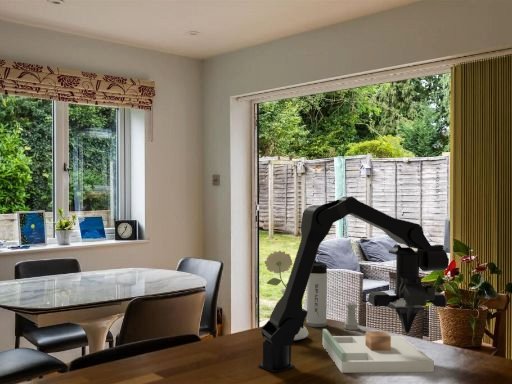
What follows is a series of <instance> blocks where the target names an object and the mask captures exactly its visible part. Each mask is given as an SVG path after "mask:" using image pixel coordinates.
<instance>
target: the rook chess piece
mask: <svg viewBox="0 0 512 384" xmlns="http://www.w3.org/2000/svg"><path fill="white" fill-rule="evenodd" d="M346 308H347V309H346V312H347V313H346V319H345V321H344V326H343V327H344V329H345V330H347V329H349V330H348V331H357V330H358V329H359V323H358V321H357V318H356V317H357V315H356V312H357V310H356V308H357V303H356V302H355V301H347V303H346Z"/></svg>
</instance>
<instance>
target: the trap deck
mask: <svg viewBox="0 0 512 384" xmlns="http://www.w3.org/2000/svg"><path fill="white" fill-rule="evenodd" d="M390 336H391V350H370V349H369V348H368V347H367V346H366V335H342V336H341V335H337V336H336V335H332V334H331V333H330V331H329V330H328V329H327V328H322V340H321V341H322V345H323V346H322V347H323V348H324V350H325V349H326V350H325V351H326V352H328V353H327V354H328V356H329V357H330V358H331V360H332V361H333V362H335V363H334V364H335V365H336V367H337V368H338V369H339V370H338V371H340V373H341V374H342V373H343V374H344V373H348V374H349V373H420V372H421V373H432V372H435V360H433V359H432V358H431V357H430V356H428V355H427V354H426V353H424V352H423V351H421V350H420V349H419V348H418V347H416V346H415V345H413V343H411V342H410V341H408V340H407V339H406V338H404V337H403V336H402V335H390Z"/></svg>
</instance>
